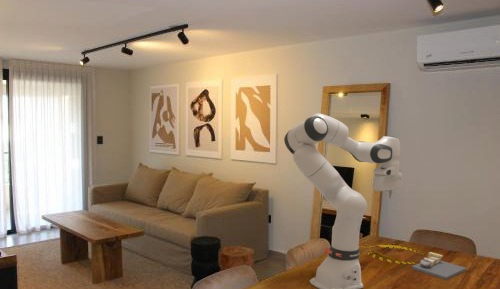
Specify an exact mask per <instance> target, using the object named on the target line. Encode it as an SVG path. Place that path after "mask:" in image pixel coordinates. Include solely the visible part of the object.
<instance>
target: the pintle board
mask: <svg viewBox="0 0 500 289" xmlns="http://www.w3.org/2000/svg"><path fill="white" fill-rule="evenodd" d="M427 255H428V256H427V257H424V258H423V259H424V261H428V258H430V257H432V256H436V257H440V258H441V259H442V258H443V257H444V255H443V254H439V253H436V252H432V251H429V252H428V253H427ZM420 263H421V262H419V263H415V264H413V265H412V266H411V268H410V269H411V270H414V271H417V272H421V273H424V274H426V275H429V276H433V277H436V278H440V279H442V280H444V281H447V280H449V279H451V278H453V277H455V276H457V275H460V274H462V273H464V272H466V271H467V267H465V266H461V265H457V264H454V263H450V262H447V261H443V260H441V262H439V263H437V264H435V265H433V266H431V268H424V267H422V266H420Z"/></svg>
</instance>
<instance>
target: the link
mask: <svg viewBox="0 0 500 289" xmlns="http://www.w3.org/2000/svg"><path fill="white" fill-rule="evenodd" d="M427 258H428V257H427ZM441 261H442V258H440V257H436V256H432V257H430V258H428V261H424V258H423V259H420V262H419V263H420V266H422V267H424V268H431V266H433V265H435V264H437V263H439V262H441Z"/></svg>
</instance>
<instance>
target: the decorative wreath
mask: <svg viewBox="0 0 500 289" xmlns="http://www.w3.org/2000/svg"><path fill="white" fill-rule="evenodd" d="M392 244H393V245H392ZM395 244H396V243H395V242H393V243H390V244H387V242H384V243H383V244H380V243H379V244H378V245H371V246H370V245H368V244H366V243H364V245H365V246H362V248H363V249H365V248H369V250H368V251H367V256H369V255H370V254H372V256H371V258H373V259H376V257H379V261H381V262H383V261H384V259H385V260H387V262H388V263H389V264H392V263H393V261H394V262H395V263H396V264H399V265H400V264H401V263H402V264H404V265H407V264H409V265H416V262H415V261H410V260H408V261H406V260H402V259H397V258H393V257H390V256H388V255H385V254H384V253H382V252H378V251H375V250H371V248H375V247H380V248H386V247H389V248H388V249H400V248H401V249H400V250H403V249H404V250H406V251H408V250H409V251H411V252H412V251H413V252H414V253H416V252H417V254H420V255H421V254H422V255H423V256H424V255H425V254H426V252H424V251H421V249H417V248H416V247H412V245H411V246H410V245H409V246H408V245H407V246H404V244H401V243H400V244H398V245H395ZM393 247H394V248H393ZM411 247H412V248H411Z"/></svg>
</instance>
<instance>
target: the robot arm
mask: <svg viewBox="0 0 500 289" xmlns="http://www.w3.org/2000/svg"><path fill="white" fill-rule="evenodd" d="M349 134H350V129H349V128H348V126H347V125H346V124H345V123H343V122H342V121H340V120H338V119H336V118H334V117H332V116H329V115H326V114H324V113H320V112H317V113H314V114H313V115H312V116H310V117H308V118H306V119H305V120H303V121H302V122H300V123H297V124H296V125H294V126H293V127H292V128H291V129H290V130H288V131H287V132H286V134H284V135H285V136H284V139H283V141H284V144H285V148H287V150H288V151H289V152H290V154H292V155H293V157H292V159H293V161H294V163H295V165H296V166H297V168H298V170H299V171H300V172H301V173H302V174H303V175H304V177H306V179H307V180H308V181H309V182H310V183H311V184H312V185H313V186H314V187H315V189H317V191H318V192H319V193H320V194H321V195H322V196H323V197H324V199H325V200H326V201H327V203H328V204H329V205H330V206H331V208H333V209H335V211H336V217H335V220H334V224H333V226H332V229H331V232H332V233H331V245H330V247H329V248H324V253H325V254H327V257H326V258H325V259H324V260H323V261H322V262H321V264H320V265H319V266H318V267H317V268H316V274H315V276H314V277H312V278H310V280H309V283H310V284H311V285H312V286H313V287H314V288H315V287H316V288H317V289H362V288H364V283H362V271H361V268H362V267H361V264H360V260H359V258H360V254H361V252H360V245H359V244H360V231H361V225H362V221H363V219H364V215H366V213H367V212H368V210H367V209H368V203H367V200H366V198H365V197H364V196H363V195H362V194H361V193H360V192H358V191H356V190H355V189H353V188H351V187H350V186H349V185H348V183H346V181H345V180H344V178H343V177H342V176H341V175H340V173H339V172H338V170H336V168H335V167H334V166H333V165H332V164H331V163H330V162H329V160H327V158H325V157H324V155H323V154H321V153H320V152H319V151H318V149H317V146H316V144H318V143H320V142H321V141H323V142H325V143H327V144H329V145H332V146H335V147H339V148H341V149H342V150H344V151H347V152H348V153H349V154H350V155H351V156H352V157H353V158H354V160H355V161H357V162H359V163H368V164H376V165H377V164H378V167H376V168H374V169H373V172H372V173H373V179H372V181H373V182H372V187H373V191H375V192H383V194H384V199H385V200H391V199H392V197H393V196H392V195H393V193H394V190H401V189H402V188H403V186H404V178H403V177H404V176H403V174H402V171H401V169H400V164H401V163H400V157H401V142H400V139H399V138H398V137H396V136H391V135H383V136H382V138H380V139H378V140H376V141H374V142H367V141H357V140H355V139H353V138H351V137H349V136H350V135H349Z"/></svg>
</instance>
